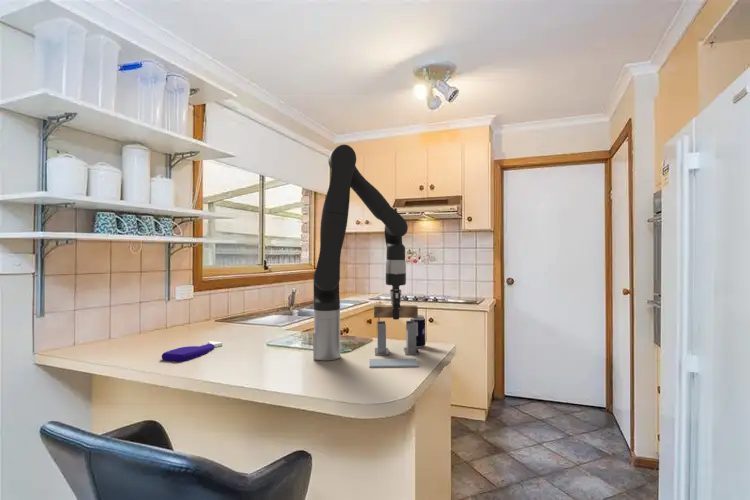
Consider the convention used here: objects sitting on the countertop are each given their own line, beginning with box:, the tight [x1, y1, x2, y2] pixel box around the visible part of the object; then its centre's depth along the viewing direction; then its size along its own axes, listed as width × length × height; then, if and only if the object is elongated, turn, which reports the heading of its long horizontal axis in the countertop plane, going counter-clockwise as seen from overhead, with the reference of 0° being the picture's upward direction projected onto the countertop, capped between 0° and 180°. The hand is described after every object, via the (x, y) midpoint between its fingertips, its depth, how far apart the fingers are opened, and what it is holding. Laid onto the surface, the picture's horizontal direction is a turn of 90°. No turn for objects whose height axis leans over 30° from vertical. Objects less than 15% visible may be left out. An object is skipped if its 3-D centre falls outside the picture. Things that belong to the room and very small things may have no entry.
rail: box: [373, 304, 419, 319], centre depth 150 cm, size 16×4×4 cm, turn 91°
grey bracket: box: [403, 320, 420, 356], centre depth 150 cm, size 5×8×11 cm, turn 1°
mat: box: [369, 357, 420, 369], centre depth 135 cm, size 16×8×1 cm, turn 91°
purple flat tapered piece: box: [161, 341, 224, 363], centre depth 152 cm, size 3×11×24 cm
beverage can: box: [410, 314, 426, 349], centre depth 158 cm, size 6×6×12 cm
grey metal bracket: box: [374, 320, 390, 356], centre depth 150 cm, size 5×8×11 cm, turn 1°
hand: (395, 318), depth 150 cm, fingers closed on rail, 4 cm apart
